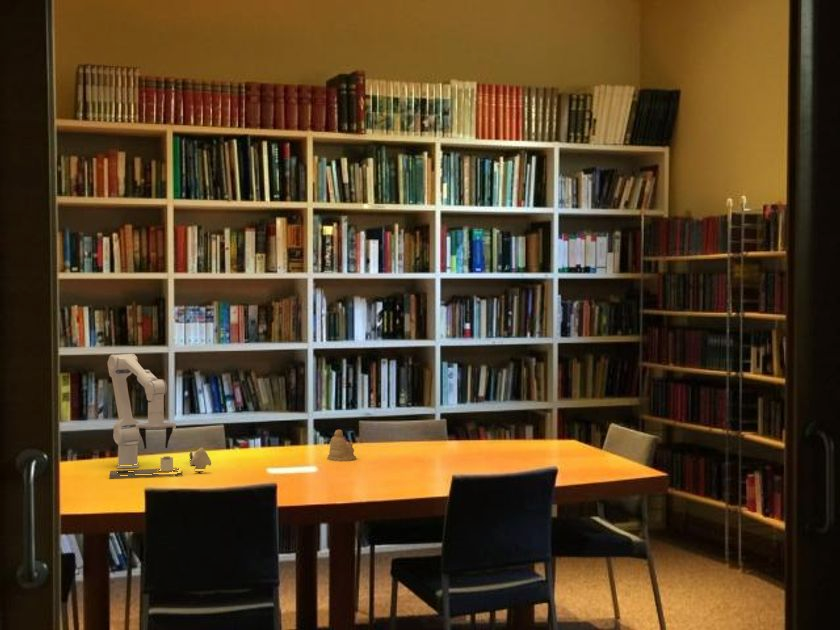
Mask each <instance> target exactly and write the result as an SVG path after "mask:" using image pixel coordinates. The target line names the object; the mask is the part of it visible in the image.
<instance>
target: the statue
mask: <svg viewBox="0 0 840 630" xmlns="http://www.w3.org/2000/svg"><path fill="white" fill-rule="evenodd" d="M334 431H335V432H334V436H332V437H331V439H330V443H329V446H330V447H329V454H328V455H327V460H328V461H332V462H342V463H343V462H353V461H356V460H357V456H356V455H355V449H354V447H353V445H354V444H353V443H352V442H348V443H347V441H346V440H345V439H344V438H343V437H344V434H343V430H341V429H336V430H334Z"/></svg>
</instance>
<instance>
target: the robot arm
mask: <svg viewBox="0 0 840 630" xmlns="http://www.w3.org/2000/svg"><path fill="white" fill-rule="evenodd" d="M138 361H139V360H138V356H136V354H134V353H125V354H124V353H123V354H121V353H119V354H113V353H112V354H111V355H109V357H108V360H107V362H106V363H107V369H108V373H109V377H111V380H112V385H113V393H114V399H115V403H116V411H117V417H118V420H117V422H115V424H114V425H113V434H112V436H113V440H114V442H115V444H116V445H117V446H118V447H117V448H118V449H117V451H118V452H117V454H118V458H117V461H118V463H117V466H116V468H117V469H135V468H137V469H138V468H139V467H140V465H139V463H140V462H138V460H139V459H138V444H140V441H142V443H143V447H144V448H143V449H144V450H145V449H147V438H146V437H147V436H146V435H147V430H157V429H158V430H161V429H163V430H165V443H164V445H165V449H168V445H169V440H170V439H171V436H172V434H173V431H174V429H177V427H176V426H177V425H176V422H164V421H165V417H164V414H165V411H164V408H165V403H164V401H165V400H164V399H165V398H164V395H166V393H167V391H168V385H167V382H166V381H165V379H161V378H159V379H158V378H157V376H155V375H154V374H153V373H152V372H151V371H150V369H144V368H143V367H142V366H141V364H140V363H139V362H138ZM132 374H134V375H135V377H136V381H137V382H138V383H139V384H140V385H141V386H142V387H143V388H144V392H145V396H146V400H147V423H139V421H138V420H136V419H135V418H134V417H133V413H132V406H131V401H130V400H131V399H130V395H129V390H128V384H127V378H128V377H129V376H131V375H132ZM137 463H138V464H137ZM118 464H119V465H118ZM134 464H137V465H134ZM120 465H132V466H120Z"/></svg>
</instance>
